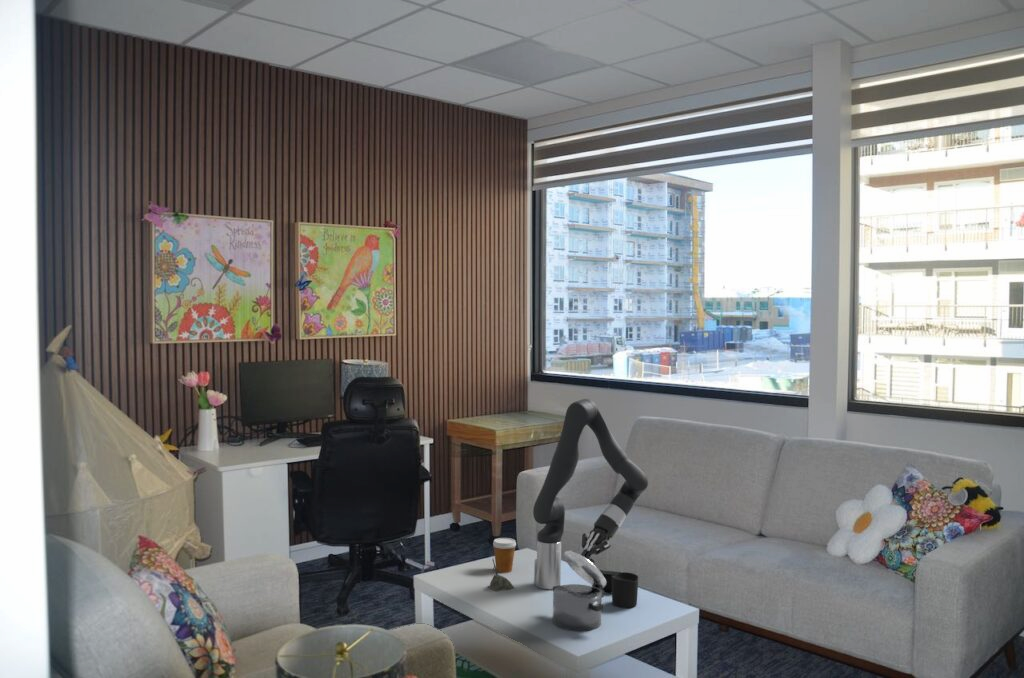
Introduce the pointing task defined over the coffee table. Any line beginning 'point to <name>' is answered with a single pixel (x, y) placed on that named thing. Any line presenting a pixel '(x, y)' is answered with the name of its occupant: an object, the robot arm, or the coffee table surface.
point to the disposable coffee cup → (504, 554)
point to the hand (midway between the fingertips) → (581, 561)
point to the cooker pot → (577, 607)
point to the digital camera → (608, 580)
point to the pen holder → (624, 590)
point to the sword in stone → (499, 582)
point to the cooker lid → (585, 569)
